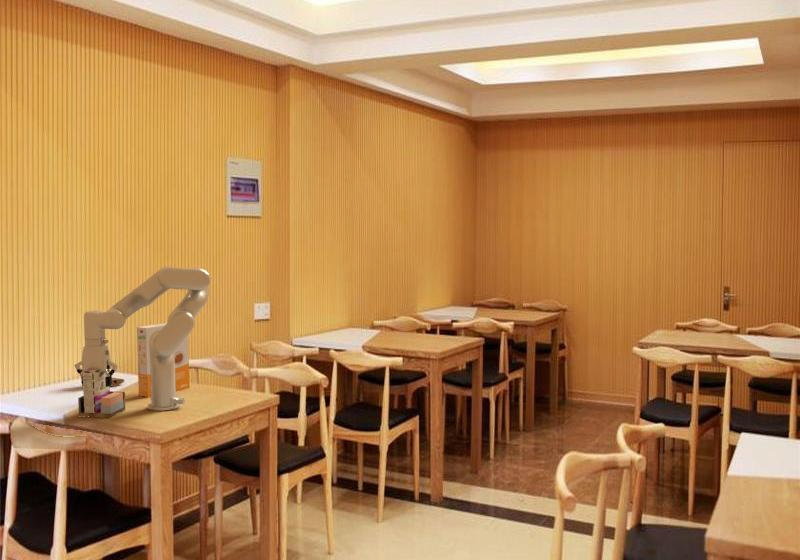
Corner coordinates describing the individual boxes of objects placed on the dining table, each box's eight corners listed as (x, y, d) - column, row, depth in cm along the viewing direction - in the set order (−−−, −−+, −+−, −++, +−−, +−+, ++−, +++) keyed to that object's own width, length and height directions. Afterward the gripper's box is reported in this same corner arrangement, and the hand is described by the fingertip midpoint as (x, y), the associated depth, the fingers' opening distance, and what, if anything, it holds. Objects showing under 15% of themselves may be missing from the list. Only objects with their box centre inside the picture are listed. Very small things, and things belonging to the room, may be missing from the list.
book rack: (125, 410, 307) (124, 391, 306) (110, 417, 294) (109, 398, 294) (94, 409, 308) (94, 391, 308) (78, 417, 296) (77, 398, 295)
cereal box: (180, 386, 351) (178, 321, 349) (189, 388, 347) (187, 322, 345) (138, 395, 332) (136, 327, 330) (148, 397, 329) (146, 328, 327)
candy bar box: (99, 406, 307) (98, 366, 305) (110, 407, 306) (109, 366, 305) (83, 413, 296) (81, 371, 294) (95, 413, 295) (93, 371, 294)
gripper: (120, 341, 301) (122, 384, 303) (79, 340, 303) (81, 383, 305) (111, 344, 294) (113, 388, 295) (68, 343, 296) (70, 387, 297)
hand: (96, 385), depth 300 cm, fingers open, 9 cm apart
